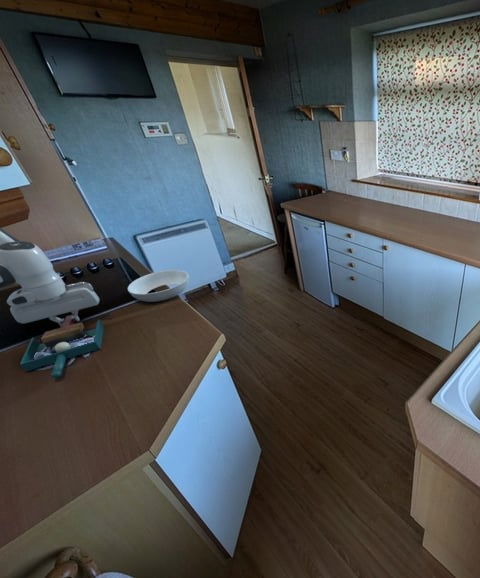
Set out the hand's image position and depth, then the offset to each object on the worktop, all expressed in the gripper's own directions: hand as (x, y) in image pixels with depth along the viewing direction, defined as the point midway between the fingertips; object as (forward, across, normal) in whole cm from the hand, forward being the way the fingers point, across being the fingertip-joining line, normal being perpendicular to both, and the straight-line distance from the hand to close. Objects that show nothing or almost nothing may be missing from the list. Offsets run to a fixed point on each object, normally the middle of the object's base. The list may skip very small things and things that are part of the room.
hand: (70, 322), depth 103 cm
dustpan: (+3, 0, +17) cm, 17 cm away
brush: (+2, 0, +4) cm, 4 cm away
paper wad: (-1, 0, +14) cm, 14 cm away
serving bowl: (+3, -28, -8) cm, 29 cm away
